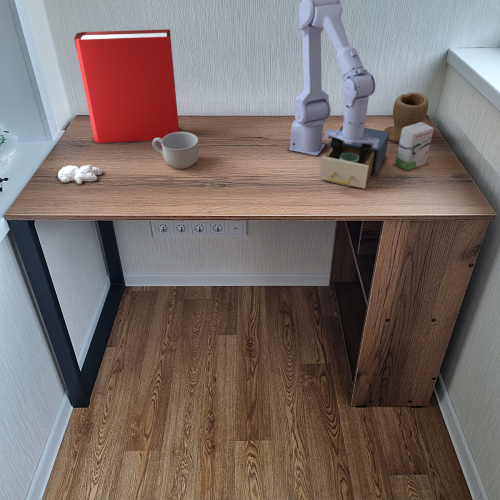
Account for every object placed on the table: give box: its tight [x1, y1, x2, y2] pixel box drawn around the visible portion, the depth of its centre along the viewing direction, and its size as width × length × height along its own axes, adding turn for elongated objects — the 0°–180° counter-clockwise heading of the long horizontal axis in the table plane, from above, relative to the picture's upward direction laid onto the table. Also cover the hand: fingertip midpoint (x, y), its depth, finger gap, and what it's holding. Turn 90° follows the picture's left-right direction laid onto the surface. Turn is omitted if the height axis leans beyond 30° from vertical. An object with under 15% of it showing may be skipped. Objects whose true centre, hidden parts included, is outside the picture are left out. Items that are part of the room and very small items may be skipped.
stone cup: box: [383, 91, 429, 143], centre depth 162 cm, size 15×12×15 cm
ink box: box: [394, 122, 435, 172], centre depth 149 cm, size 9×5×12 cm, turn 123°
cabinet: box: [329, 125, 390, 177], centre depth 152 cm, size 13×14×8 cm
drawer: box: [319, 145, 376, 189], centre depth 143 cm, size 17×13×7 cm
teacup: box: [151, 131, 199, 170], centre depth 151 cm, size 14×11×8 cm
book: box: [73, 28, 180, 144], centre depth 159 cm, size 27×8×32 cm, turn 97°
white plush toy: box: [57, 164, 103, 185], centre depth 146 cm, size 9×12×3 cm
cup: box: [339, 152, 359, 163], centre depth 143 cm, size 6×6×4 cm
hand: (348, 165), depth 144 cm, fingers closed on cup, 5 cm apart
